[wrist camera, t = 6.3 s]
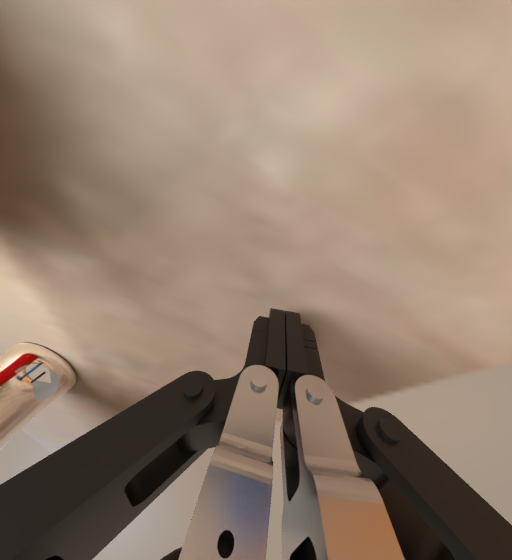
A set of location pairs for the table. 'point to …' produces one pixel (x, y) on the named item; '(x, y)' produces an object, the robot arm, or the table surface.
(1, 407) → the beer glass
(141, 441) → the robot arm
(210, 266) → the table surface
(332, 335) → the table surface
